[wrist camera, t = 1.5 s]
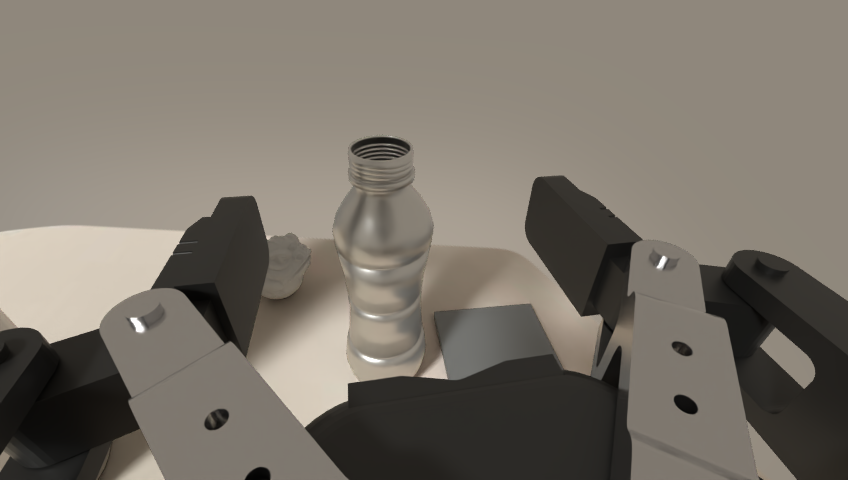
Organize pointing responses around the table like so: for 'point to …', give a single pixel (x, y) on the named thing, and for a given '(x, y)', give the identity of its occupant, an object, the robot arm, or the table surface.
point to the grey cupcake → (285, 266)
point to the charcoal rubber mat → (489, 338)
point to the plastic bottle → (383, 258)
